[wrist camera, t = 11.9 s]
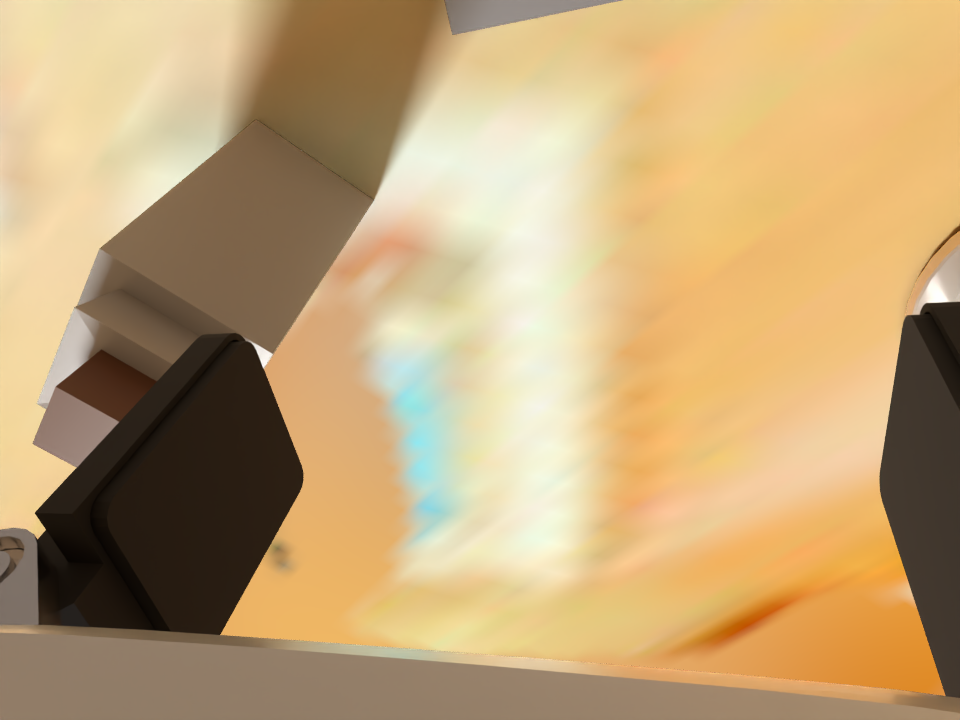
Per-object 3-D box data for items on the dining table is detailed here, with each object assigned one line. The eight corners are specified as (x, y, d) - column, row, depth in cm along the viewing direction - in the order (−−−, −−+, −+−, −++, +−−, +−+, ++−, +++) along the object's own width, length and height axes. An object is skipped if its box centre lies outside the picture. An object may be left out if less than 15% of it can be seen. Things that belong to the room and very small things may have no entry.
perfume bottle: (256, 119, 36) (13, 319, 22) (373, 200, 38) (218, 436, 24) (206, 219, 40) (-28, 446, 26) (315, 289, 42) (151, 539, 27)
